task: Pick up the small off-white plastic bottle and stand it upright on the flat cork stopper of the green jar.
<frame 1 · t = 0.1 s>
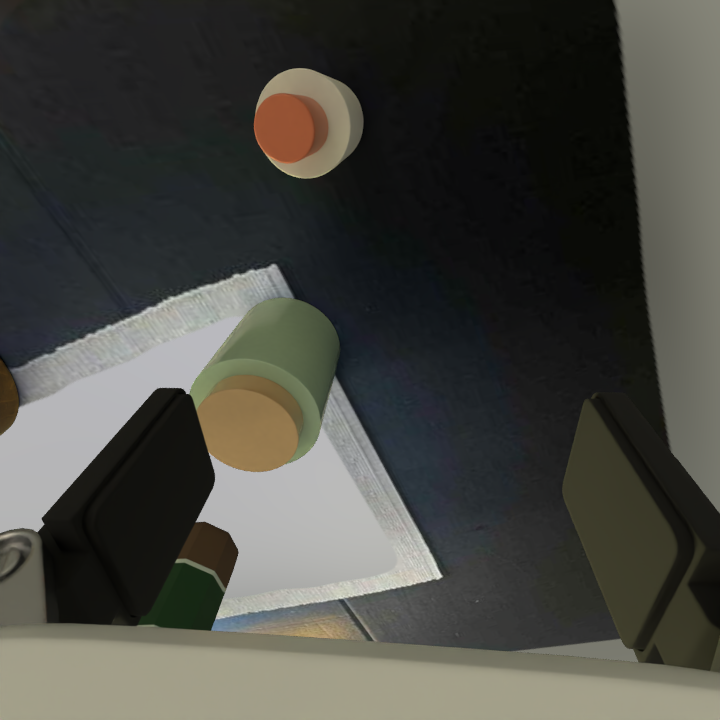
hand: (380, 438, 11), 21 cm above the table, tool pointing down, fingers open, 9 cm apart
small bottle: (326, 122, 26), on the table
green jar: (288, 345, 34), on the table
beer bottle: (206, 541, 47), on the table
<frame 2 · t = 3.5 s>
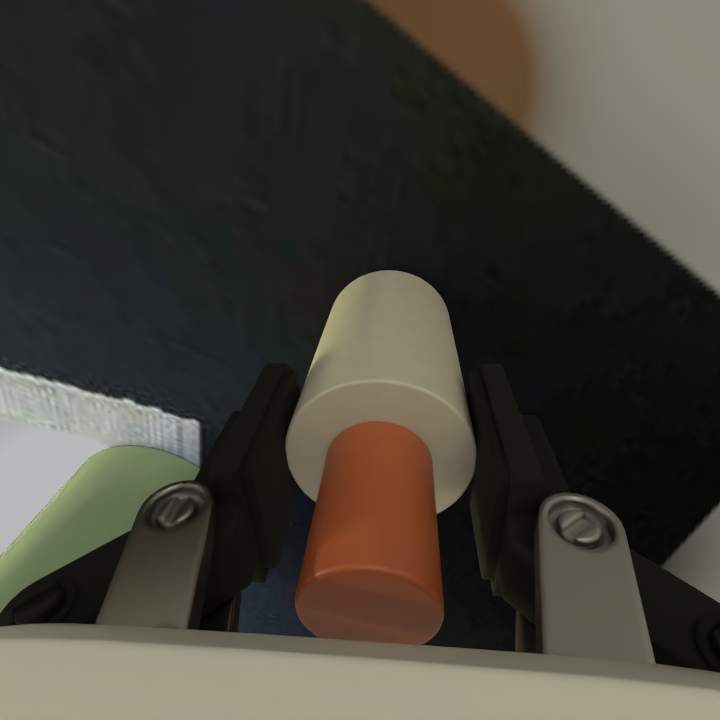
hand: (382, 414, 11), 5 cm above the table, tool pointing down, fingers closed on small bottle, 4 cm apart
small bottle: (388, 327, 16), on the table, touching gripper
green jar: (156, 505, 22), on the table
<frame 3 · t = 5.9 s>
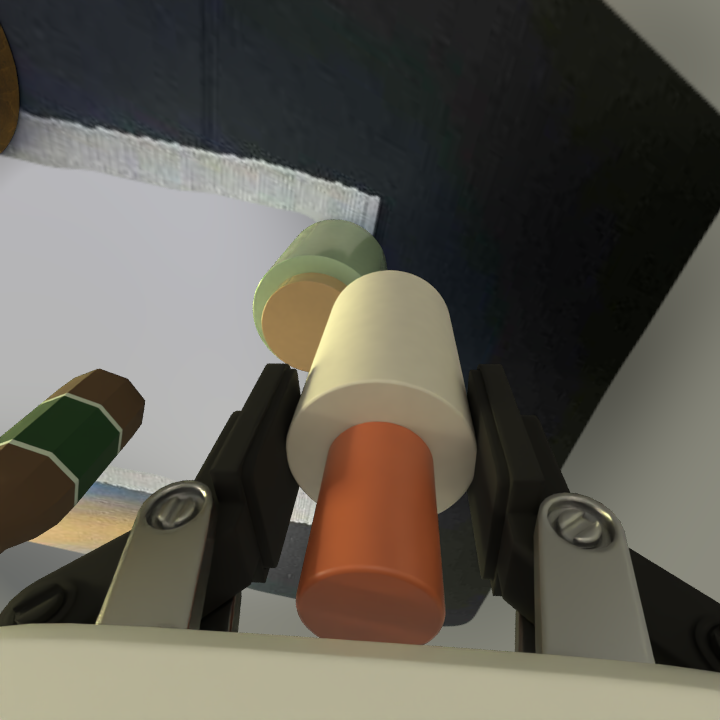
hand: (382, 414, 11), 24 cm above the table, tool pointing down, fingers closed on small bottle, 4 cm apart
small bottle: (389, 327, 16), point 19 cm above the table, touching gripper
green jar: (336, 270, 34), on the table
beer bottle: (112, 397, 44), on the table
when the fingers open (16 cm above the table, at t = 8.6 s): small bottle stays where it is, resting on green jar.
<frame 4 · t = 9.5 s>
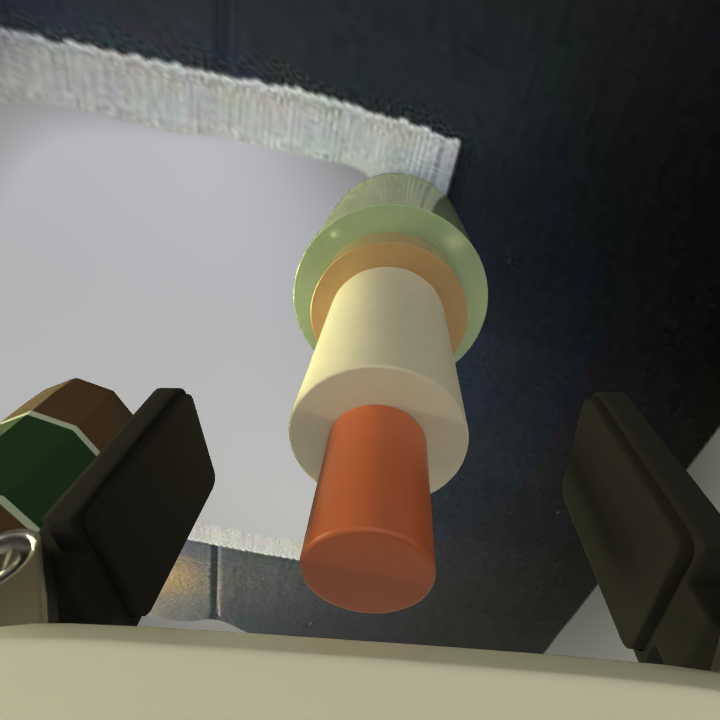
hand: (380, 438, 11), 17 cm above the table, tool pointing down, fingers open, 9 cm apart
small bottle: (386, 321, 17), point 10 cm above the table, touching green jar
green jar: (393, 246, 26), on the table, touching small bottle
beer bottle: (94, 414, 35), on the table
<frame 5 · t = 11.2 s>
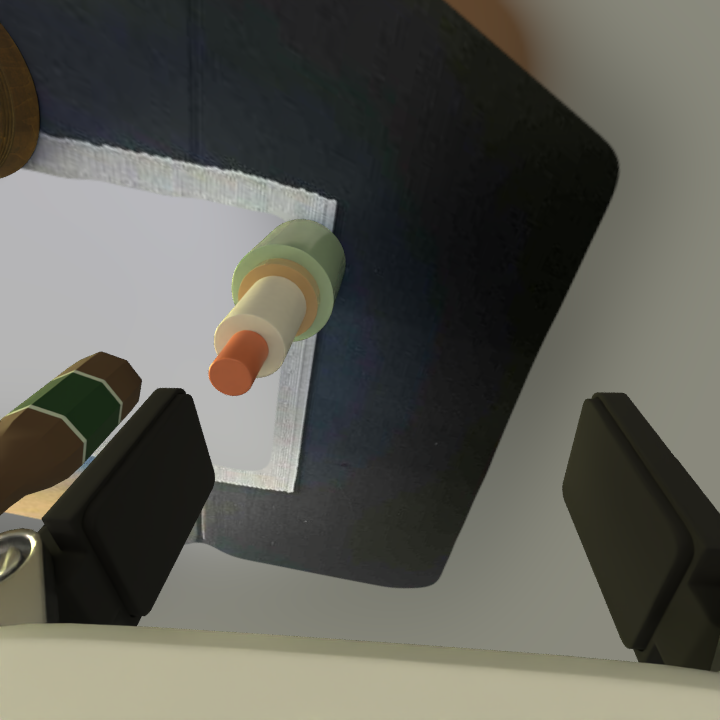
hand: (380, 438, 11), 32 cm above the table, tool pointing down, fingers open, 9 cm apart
small bottle: (277, 304, 32), point 10 cm above the table, touching green jar
green jar: (304, 262, 41), on the table, touching small bottle
beer bottle: (112, 378, 50), on the table
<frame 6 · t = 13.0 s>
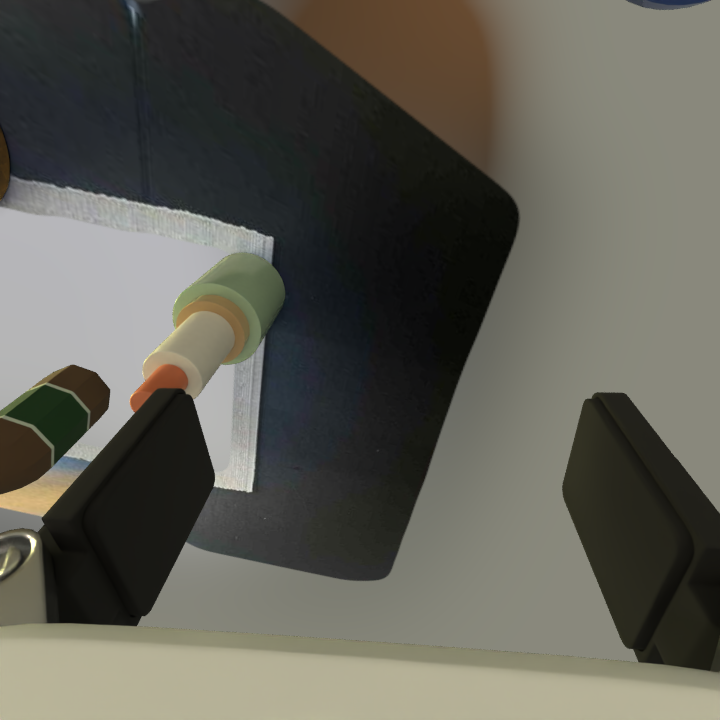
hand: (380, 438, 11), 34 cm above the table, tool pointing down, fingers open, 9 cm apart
small bottle: (209, 334, 37), point 10 cm above the table, touching green jar
green jar: (248, 289, 46), on the table, touching small bottle
beer bottle: (84, 387, 55), on the table
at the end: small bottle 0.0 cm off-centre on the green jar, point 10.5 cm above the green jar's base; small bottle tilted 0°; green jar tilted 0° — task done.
